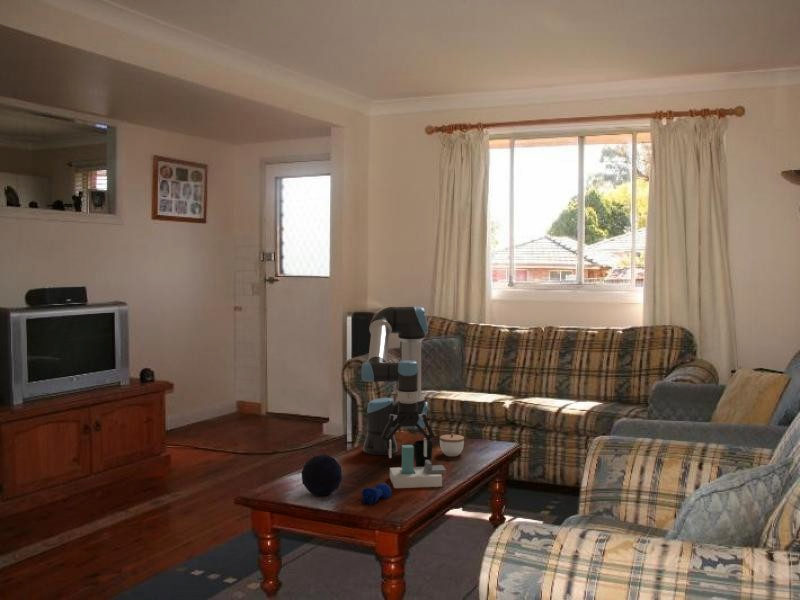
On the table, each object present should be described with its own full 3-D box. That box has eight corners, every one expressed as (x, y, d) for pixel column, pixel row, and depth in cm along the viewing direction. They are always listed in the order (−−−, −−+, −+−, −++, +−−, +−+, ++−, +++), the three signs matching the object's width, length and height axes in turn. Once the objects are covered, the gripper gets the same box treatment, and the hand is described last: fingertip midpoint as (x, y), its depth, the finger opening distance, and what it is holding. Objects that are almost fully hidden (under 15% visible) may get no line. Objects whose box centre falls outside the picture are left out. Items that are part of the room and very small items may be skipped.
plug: (401, 481, 302) (401, 445, 302) (411, 480, 303) (412, 444, 302) (403, 484, 298) (403, 447, 298) (413, 483, 299) (413, 447, 298)
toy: (375, 508, 271) (395, 495, 285) (375, 491, 271) (395, 478, 284) (358, 505, 274) (378, 492, 288) (358, 488, 274) (378, 476, 287)
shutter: (424, 468, 305) (424, 459, 305) (442, 468, 306) (442, 458, 306) (427, 473, 298) (427, 464, 298) (446, 473, 299) (446, 463, 299)
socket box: (389, 477, 307) (389, 467, 307) (435, 476, 309) (435, 466, 309) (394, 488, 293) (394, 477, 293) (441, 486, 295) (442, 476, 295)
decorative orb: (316, 470, 297) (304, 444, 288) (352, 474, 292) (341, 448, 283) (302, 501, 287) (289, 475, 278) (339, 506, 282) (327, 480, 273)
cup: (431, 475, 311) (431, 445, 310) (412, 473, 313) (412, 444, 312) (434, 469, 319) (434, 440, 318) (415, 468, 320) (415, 439, 320)
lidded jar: (463, 458, 338) (463, 436, 337) (438, 457, 339) (438, 435, 339) (464, 452, 348) (465, 431, 348) (440, 451, 350) (441, 430, 349)
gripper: (376, 404, 294) (376, 460, 295) (441, 402, 297) (441, 458, 298) (374, 400, 301) (374, 455, 303) (438, 398, 304) (438, 452, 306)
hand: (407, 456), depth 300 cm, fingers open, 13 cm apart
